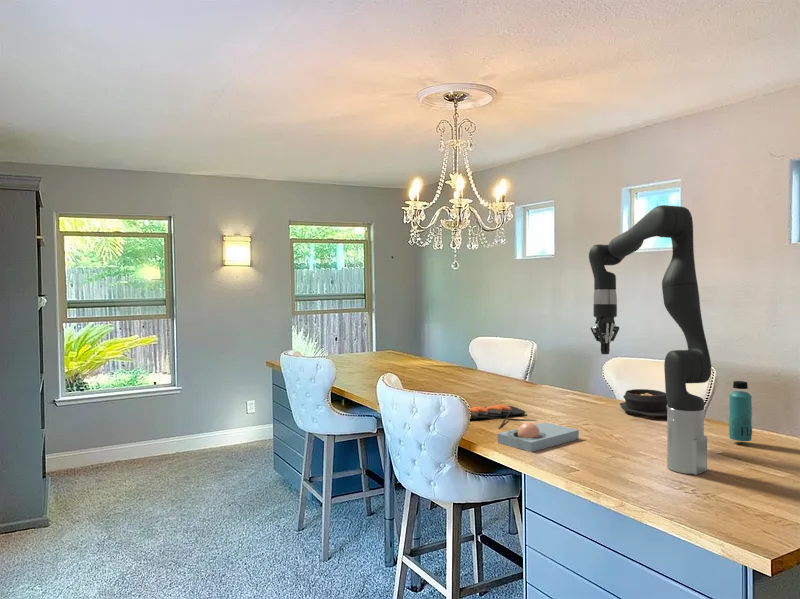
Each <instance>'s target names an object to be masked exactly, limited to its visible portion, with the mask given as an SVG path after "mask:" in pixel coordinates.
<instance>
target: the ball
mask: <svg viewBox="0 0 800 599" xmlns="http://www.w3.org/2000/svg"><path fill="white" fill-rule="evenodd" d="M517 429H518V437H520V438H536V437H539V436H540V432H539V429H538V427H537V426H536V424H534V423H532V422H529V421H527V422H524V423H522V424H520V426H519V427H518V428H517Z"/></svg>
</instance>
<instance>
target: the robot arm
mask: <svg viewBox="0 0 800 599" xmlns="http://www.w3.org/2000/svg"><path fill="white" fill-rule="evenodd" d="M655 237H659V238H670V239H671V246H672V247H671V248H672V254H671V260H670V262H669V264H668V266H667V268H666V270H665V273H664V275H663V278H662V282H661V290H662V298H663V305H664V307H665V309H666V311H667V312H668V314H669V315H670V317H671V318H672V319H673V320H674V322H675V323H676V324H677V325H678V327H679V328H680V330H681V331H682V333H683V335H684V337H685V338H684V339H685V341H686V345H687V349H675V350H670V351H669V352H668V353H666V355H665V358H664V362H663V363H664V364H663V365H664V370H663V371H664V383H665V384H664V385H665V388H664V389H665V391H664V392H665V393H666V398H667V416H666V419H667V420H666V421H667V422H666V429H667V430H666V434H667V435H666V438H667V440H666V442H667V443H666V450H667V451H666V453H667V454H666V455H667V456H666V462H667V463H666V464H667V466H666V467H667V469H669V470H670V471H673V472H676V473H681V474H687V475H688V474H689V475H695V476H697V475H700V474H702V473H705V472H706V471H708V437H707V435H705V400H704V399H703V397H701V396H698V395H694V394H692V393H690V392H689V391H688V390H687V384H704V383H707V382H708V381H709V380H710V379H711V375H712V359H711V356H710V351H709V346H708V343H707V339H706V334H705V330H704V325H703V319H702V310H701V303H700V302H701V301H700V292H699V285H698V279H697V272H696V263H695V262H696V261H695V253H694V252H695V251H694V247H695V246H694V222H693V216H692V214H691V211H690V210H689V209H688V208H687V207H684V206H680V205H678V206H677V205H669V204H667V205H665V204H664V205H657V206H655V207H654V208H652V209H651V210H649V212H647V213H646V214H645V215H644V216H643V217H642V218H641V219H639V221H637V222H635V224H634V225H633V226H632V227H631V228H629V229H628V230H626V231H624V232H622V233H621V234H619V235H617V236H616V237H615V236H614V238H612V239H611V240H610V241H609V243H608V244H597V243H596V244H594V245H593V246H592V247H590V249H589V252H588V260H589V264H590V268H591V271H592V275H593V279H594V280H593V281H594V282H593V284H594V285H593V286H594V287H593V289H594V291H593V317H595V325H594V326H590V330H591V333H592V335H593V337H594V339H595V341H597V342H599V343H600V354H601V355H609V354H610V351H611V350H610V344H611V342H614V341H615V339H616V337H617V335H618V332H619V330H620V327H619V326H618V325H616V321H615V318H616V317H618V297H617V296H618V295H617V290H616V289H617V275H616V274H615V273H613V272H611V271H608V270H607V269H606V266H615V265H618V264H620V263H621V262H623V260H624V259H625V258H626V257H627V256H630V255H631V254H633V253H635V252H637V251H638V250H639V249H640V248H641V247H642V245H643V244H644V241H645V240H647V239H651V238H655Z"/></svg>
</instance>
